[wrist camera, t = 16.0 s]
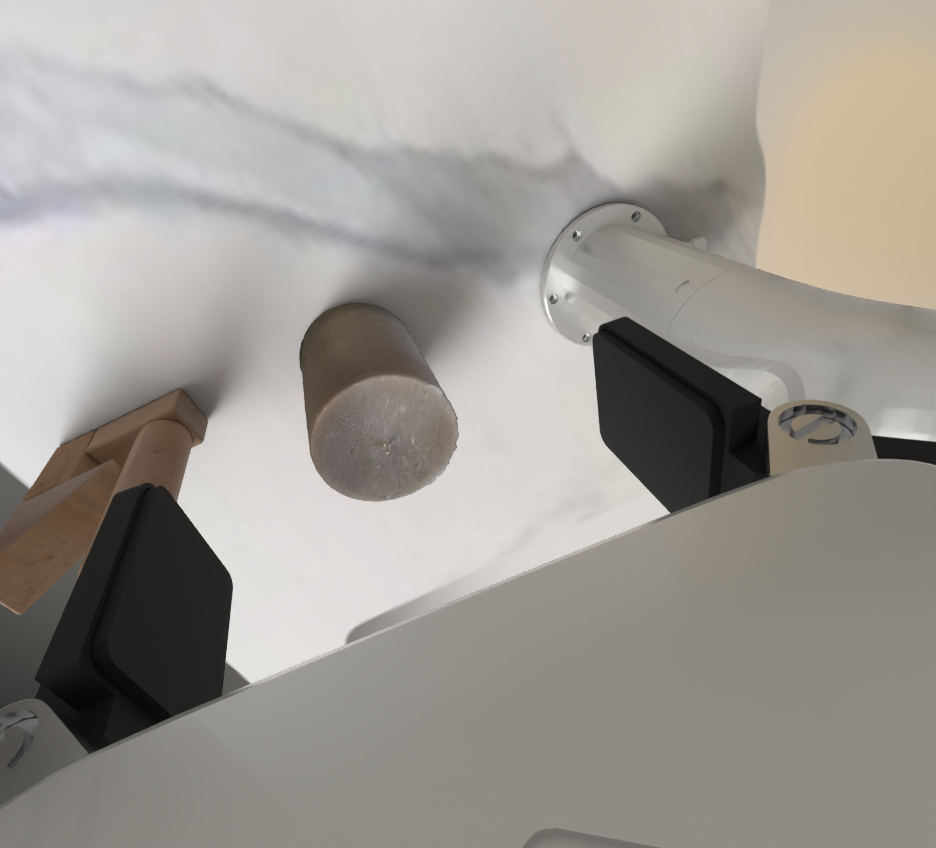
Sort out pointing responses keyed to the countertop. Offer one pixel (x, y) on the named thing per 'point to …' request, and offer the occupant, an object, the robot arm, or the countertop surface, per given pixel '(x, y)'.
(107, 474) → the wooden block
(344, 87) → the countertop surface
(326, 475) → the pillar candle
